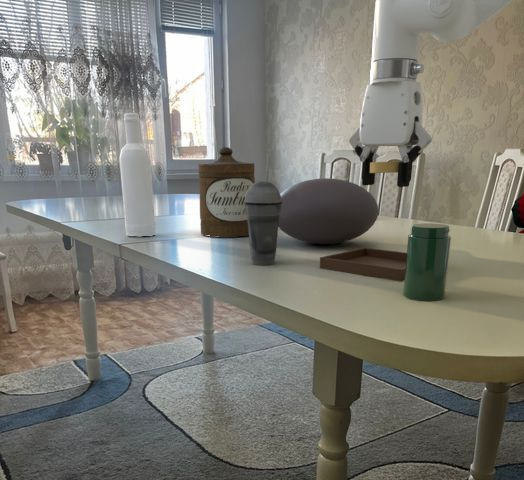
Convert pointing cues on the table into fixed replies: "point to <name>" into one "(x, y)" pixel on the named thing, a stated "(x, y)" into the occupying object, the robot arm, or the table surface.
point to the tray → (368, 263)
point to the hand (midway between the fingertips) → (385, 184)
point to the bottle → (136, 181)
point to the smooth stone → (326, 211)
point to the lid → (384, 167)
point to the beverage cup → (263, 220)
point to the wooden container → (224, 195)
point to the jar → (427, 262)
